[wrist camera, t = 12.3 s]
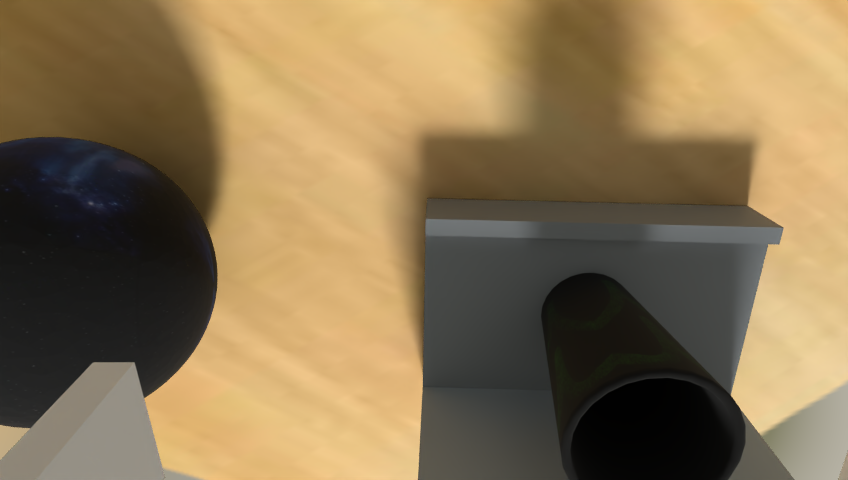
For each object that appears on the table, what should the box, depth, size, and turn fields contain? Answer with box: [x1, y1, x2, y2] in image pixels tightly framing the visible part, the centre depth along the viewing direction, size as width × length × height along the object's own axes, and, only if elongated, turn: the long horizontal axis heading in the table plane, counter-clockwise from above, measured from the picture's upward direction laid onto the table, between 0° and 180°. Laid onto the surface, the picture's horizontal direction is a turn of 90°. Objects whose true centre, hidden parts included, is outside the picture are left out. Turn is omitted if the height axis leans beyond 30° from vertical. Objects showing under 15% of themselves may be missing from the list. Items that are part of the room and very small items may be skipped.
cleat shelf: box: [418, 198, 794, 480], centre depth 32 cm, size 14×20×14 cm
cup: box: [541, 273, 746, 480], centre depth 30 cm, size 8×8×12 cm
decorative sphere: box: [0, 137, 217, 428], centre depth 30 cm, size 15×15×15 cm
